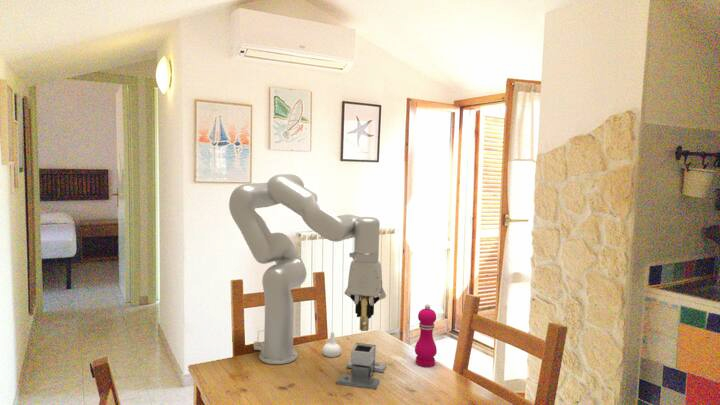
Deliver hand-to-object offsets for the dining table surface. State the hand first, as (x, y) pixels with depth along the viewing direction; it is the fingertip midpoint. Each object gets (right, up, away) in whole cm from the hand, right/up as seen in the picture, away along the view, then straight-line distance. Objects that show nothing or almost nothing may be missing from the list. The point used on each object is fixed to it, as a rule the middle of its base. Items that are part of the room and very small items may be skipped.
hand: (364, 316), depth 151 cm
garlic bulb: (-11, -17, +17) cm, 27 cm away
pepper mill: (+20, -19, +12) cm, 30 cm away
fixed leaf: (-1, -19, -1) cm, 19 cm away
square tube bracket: (0, -18, +4) cm, 19 cm away
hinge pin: (0, -4, 0) cm, 4 cm away
